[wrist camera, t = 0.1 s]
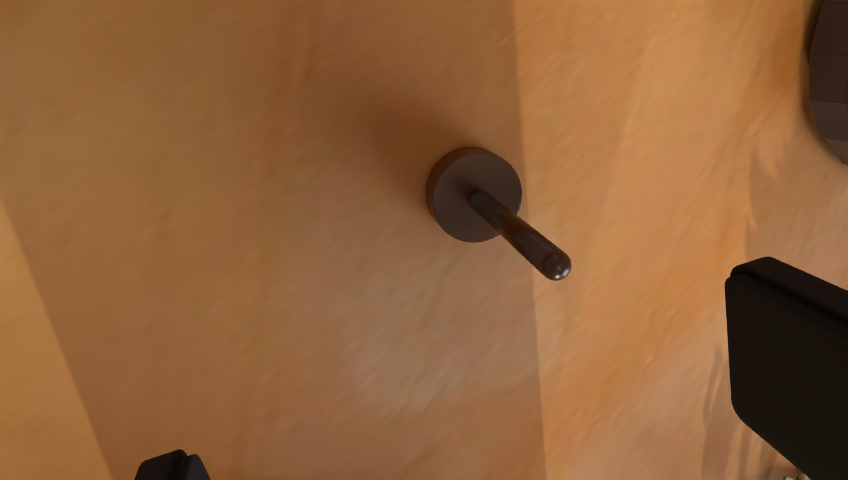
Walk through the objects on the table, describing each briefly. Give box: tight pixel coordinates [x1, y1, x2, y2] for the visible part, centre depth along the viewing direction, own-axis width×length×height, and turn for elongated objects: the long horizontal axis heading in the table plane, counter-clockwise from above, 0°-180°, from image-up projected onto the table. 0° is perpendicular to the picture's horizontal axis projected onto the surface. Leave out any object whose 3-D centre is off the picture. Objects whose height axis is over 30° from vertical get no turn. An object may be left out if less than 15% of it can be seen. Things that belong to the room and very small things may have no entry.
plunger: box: [426, 147, 571, 281], centre depth 28 cm, size 5×5×13 cm
